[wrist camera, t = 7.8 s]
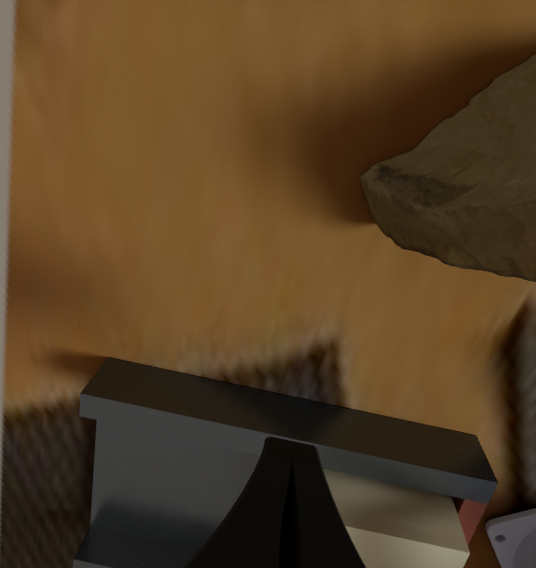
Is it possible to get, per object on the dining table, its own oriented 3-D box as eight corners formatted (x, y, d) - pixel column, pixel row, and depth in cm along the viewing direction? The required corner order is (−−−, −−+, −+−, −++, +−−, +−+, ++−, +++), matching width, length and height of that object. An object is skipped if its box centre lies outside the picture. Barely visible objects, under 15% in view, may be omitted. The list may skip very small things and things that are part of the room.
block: (445, 477, 23) (470, 553, 19) (396, 591, 26) (409, 676, 22) (318, 449, 23) (318, 520, 19) (285, 567, 26) (279, 647, 22)
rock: (343, 310, 19) (630, 348, 17) (339, 222, 11) (890, 277, 9) (376, 74, 22) (627, 84, 20) (393, -137, 14) (822, -156, 12)
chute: (476, 435, 23) (498, 482, 20) (406, 594, 27) (416, 651, 25) (108, 357, 23) (80, 393, 21) (96, 526, 28) (72, 575, 25)
